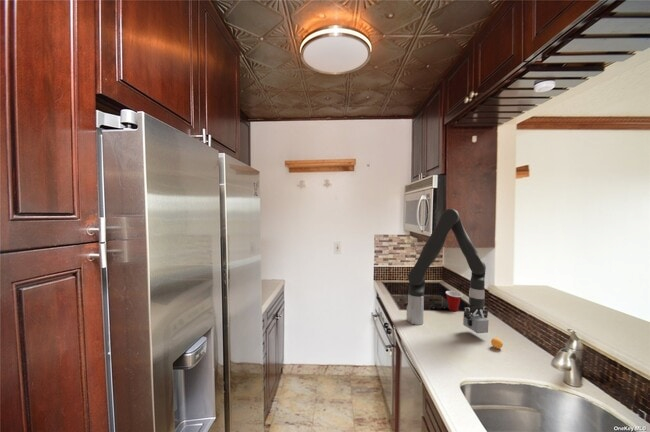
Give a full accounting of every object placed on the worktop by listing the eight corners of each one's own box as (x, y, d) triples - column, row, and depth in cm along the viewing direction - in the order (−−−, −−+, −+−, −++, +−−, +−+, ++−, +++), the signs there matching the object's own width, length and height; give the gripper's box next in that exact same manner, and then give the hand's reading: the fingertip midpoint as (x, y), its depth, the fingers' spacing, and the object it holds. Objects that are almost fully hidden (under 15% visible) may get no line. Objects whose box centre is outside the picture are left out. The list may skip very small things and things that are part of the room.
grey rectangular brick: (477, 333, 143) (477, 320, 142) (463, 324, 153) (463, 313, 153) (487, 332, 144) (488, 320, 144) (473, 324, 155) (473, 312, 154)
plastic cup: (455, 313, 180) (455, 296, 180) (441, 308, 189) (442, 292, 189) (465, 311, 185) (466, 294, 185) (452, 306, 194) (452, 290, 194)
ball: (496, 339, 132) (488, 337, 137) (497, 350, 131) (489, 347, 136) (504, 338, 133) (496, 336, 138) (506, 349, 133) (497, 346, 137)
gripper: (482, 293, 153) (481, 322, 154) (460, 294, 150) (459, 323, 151) (493, 298, 146) (491, 327, 146) (470, 299, 143) (469, 329, 143)
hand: (475, 325), depth 148 cm, fingers closed on grey rectangular brick, 6 cm apart
